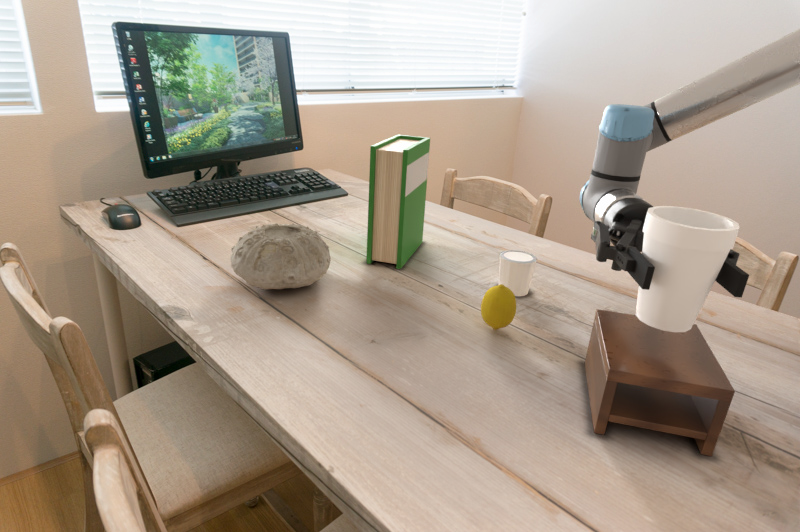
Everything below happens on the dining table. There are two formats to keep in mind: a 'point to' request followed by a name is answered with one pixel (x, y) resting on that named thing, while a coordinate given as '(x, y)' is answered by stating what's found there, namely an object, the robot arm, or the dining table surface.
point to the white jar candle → (516, 271)
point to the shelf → (655, 379)
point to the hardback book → (397, 198)
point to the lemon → (498, 306)
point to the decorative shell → (280, 256)
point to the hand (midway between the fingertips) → (695, 282)
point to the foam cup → (682, 263)
